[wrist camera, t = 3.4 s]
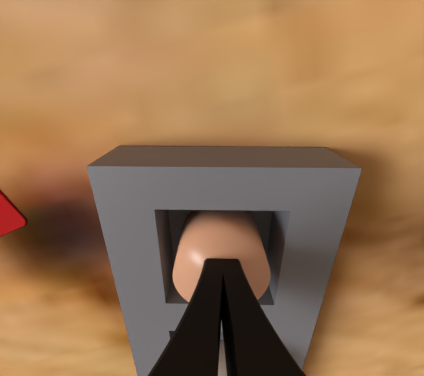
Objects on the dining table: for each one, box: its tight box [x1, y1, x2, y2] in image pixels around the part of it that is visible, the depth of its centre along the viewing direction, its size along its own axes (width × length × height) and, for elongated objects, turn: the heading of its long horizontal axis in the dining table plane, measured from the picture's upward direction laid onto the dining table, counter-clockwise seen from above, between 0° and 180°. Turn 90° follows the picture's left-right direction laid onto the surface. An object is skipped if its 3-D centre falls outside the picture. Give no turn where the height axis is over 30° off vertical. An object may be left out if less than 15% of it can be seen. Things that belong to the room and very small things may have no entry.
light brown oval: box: [173, 210, 270, 302], centre depth 11 cm, size 4×4×3 cm
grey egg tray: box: [87, 146, 362, 376], centre depth 15 cm, size 24×10×3 cm, turn 0°
